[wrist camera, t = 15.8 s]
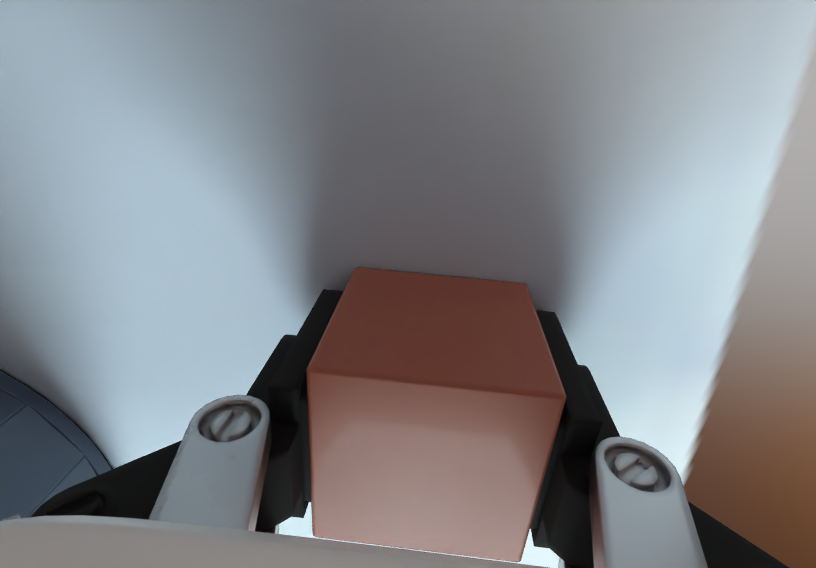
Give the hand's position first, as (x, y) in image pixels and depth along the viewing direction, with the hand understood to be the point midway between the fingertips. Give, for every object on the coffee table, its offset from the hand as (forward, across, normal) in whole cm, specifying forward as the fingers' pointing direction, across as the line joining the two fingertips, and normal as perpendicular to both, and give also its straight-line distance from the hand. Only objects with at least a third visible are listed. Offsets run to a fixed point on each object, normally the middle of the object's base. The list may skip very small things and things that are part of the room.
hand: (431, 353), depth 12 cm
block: (0, 0, 0) cm, 0 cm away
